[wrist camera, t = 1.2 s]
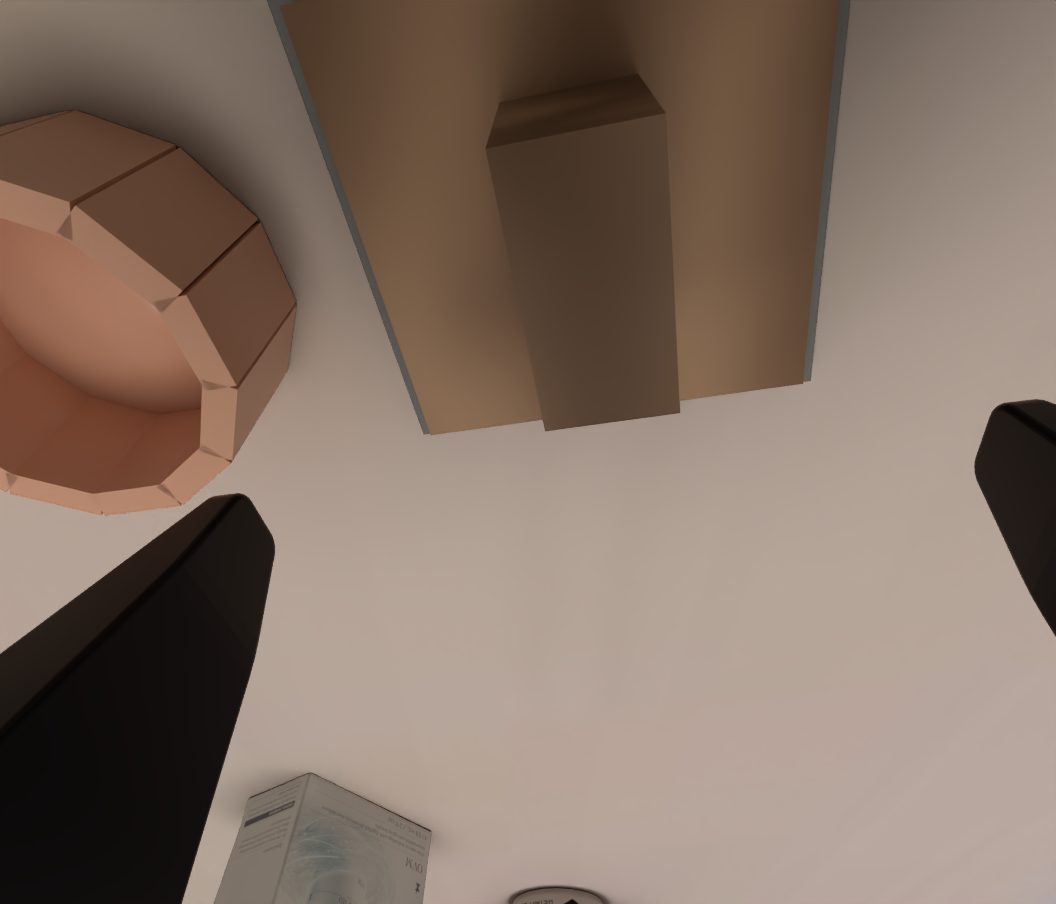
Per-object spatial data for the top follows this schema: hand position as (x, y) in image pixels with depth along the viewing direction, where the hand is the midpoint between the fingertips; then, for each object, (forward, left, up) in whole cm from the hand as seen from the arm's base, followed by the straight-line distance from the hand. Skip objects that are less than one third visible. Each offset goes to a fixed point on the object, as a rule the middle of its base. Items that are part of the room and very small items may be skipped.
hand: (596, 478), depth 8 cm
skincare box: (+20, +35, -11) cm, 42 cm away
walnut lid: (0, 0, -10) cm, 10 cm away
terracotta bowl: (+13, 0, -11) cm, 17 cm away
